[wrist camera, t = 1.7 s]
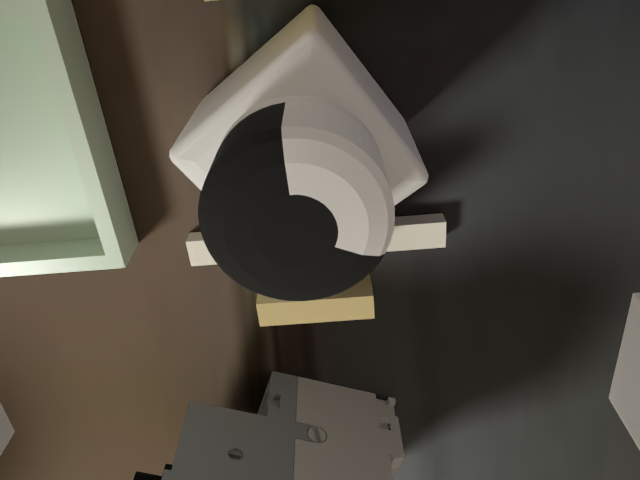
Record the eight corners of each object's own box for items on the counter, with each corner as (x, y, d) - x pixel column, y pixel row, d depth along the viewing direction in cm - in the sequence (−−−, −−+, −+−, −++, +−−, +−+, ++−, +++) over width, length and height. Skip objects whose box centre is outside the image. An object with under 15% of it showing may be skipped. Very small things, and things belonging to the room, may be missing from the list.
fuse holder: (194, 256, 31) (165, 338, 25) (126, -49, 24) (60, -38, 18) (441, 237, 31) (473, 317, 25) (450, -80, 23) (497, -80, 17)
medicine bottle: (295, 206, 30) (284, 362, 19) (198, 102, 27) (123, 218, 16) (407, 122, 27) (463, 247, 17) (314, -1, 25) (312, 58, 14)
